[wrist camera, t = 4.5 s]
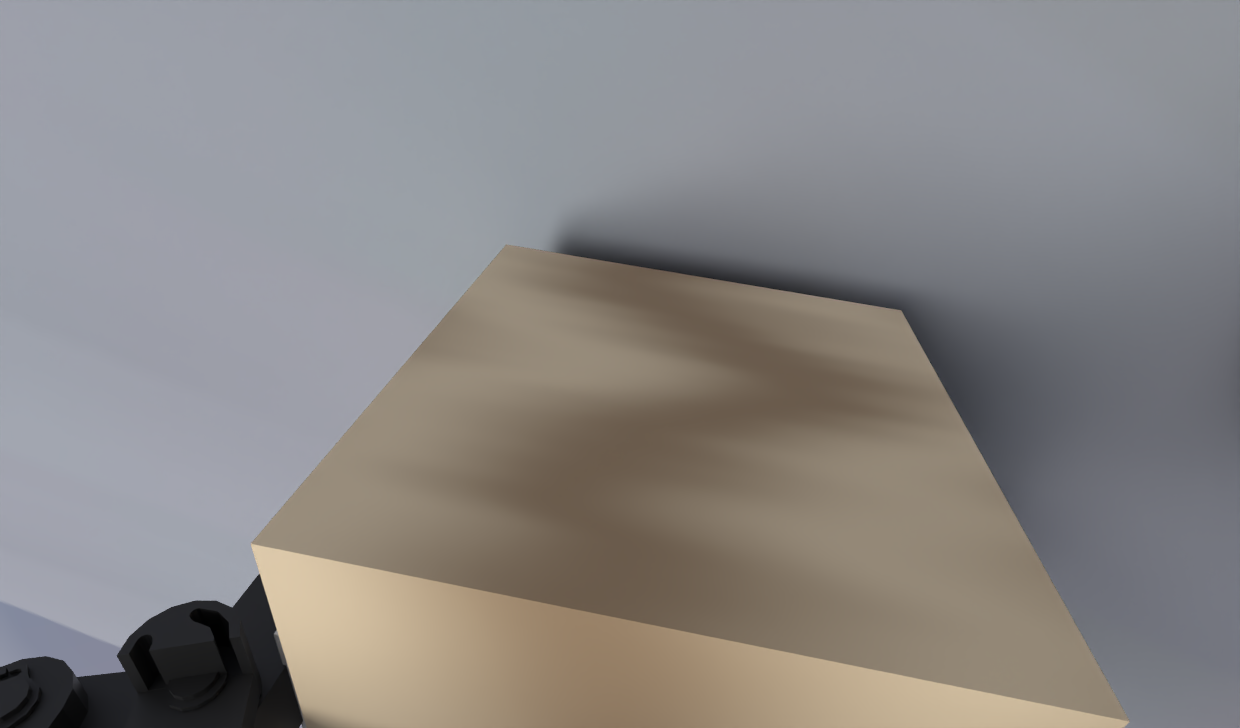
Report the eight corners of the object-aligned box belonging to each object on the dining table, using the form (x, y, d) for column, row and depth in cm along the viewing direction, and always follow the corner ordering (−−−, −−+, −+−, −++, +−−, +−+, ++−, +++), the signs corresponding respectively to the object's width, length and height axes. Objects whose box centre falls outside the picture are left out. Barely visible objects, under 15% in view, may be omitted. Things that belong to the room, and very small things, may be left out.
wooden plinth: (901, 310, 12) (1129, 722, 5) (792, 575, 16) (842, 991, 10) (506, 244, 12) (250, 543, 6) (501, 519, 17) (352, 875, 10)
